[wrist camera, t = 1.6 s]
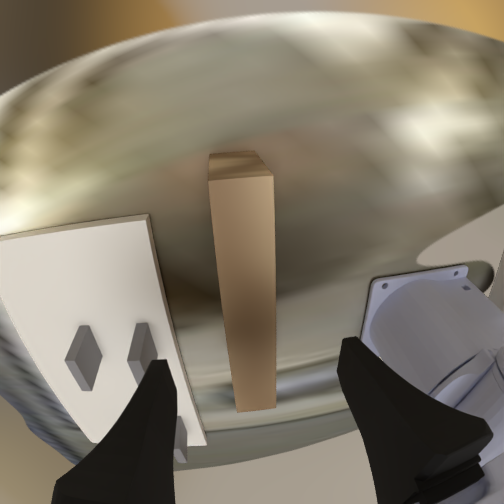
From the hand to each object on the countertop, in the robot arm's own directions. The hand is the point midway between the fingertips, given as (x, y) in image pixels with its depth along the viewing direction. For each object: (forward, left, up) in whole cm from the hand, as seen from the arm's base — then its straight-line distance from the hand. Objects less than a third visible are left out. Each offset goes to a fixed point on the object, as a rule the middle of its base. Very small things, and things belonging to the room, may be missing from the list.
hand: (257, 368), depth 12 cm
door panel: (0, 0, -9) cm, 9 cm away
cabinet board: (+11, +8, -8) cm, 16 cm away
